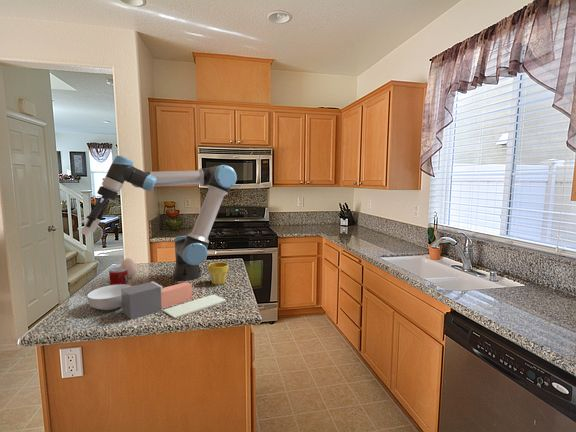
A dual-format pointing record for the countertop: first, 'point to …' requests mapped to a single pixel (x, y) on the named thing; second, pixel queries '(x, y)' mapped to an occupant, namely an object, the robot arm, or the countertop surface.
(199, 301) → the pale green flat board
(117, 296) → the cereal bowl
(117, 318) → the countertop surface
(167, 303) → the long pink block
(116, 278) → the canned food
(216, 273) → the plant pot
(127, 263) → the egg
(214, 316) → the countertop surface
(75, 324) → the countertop surface
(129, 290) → the grey block
